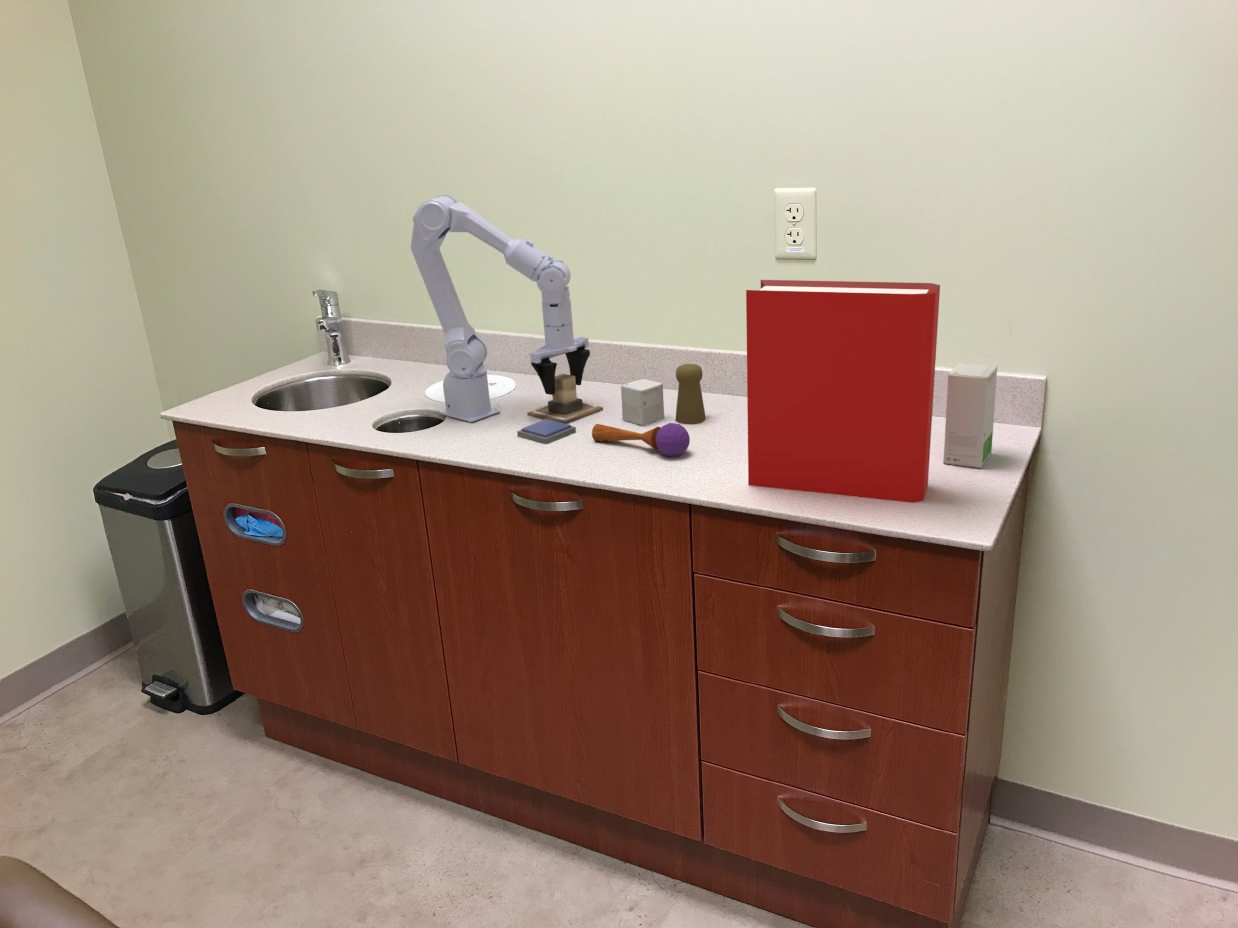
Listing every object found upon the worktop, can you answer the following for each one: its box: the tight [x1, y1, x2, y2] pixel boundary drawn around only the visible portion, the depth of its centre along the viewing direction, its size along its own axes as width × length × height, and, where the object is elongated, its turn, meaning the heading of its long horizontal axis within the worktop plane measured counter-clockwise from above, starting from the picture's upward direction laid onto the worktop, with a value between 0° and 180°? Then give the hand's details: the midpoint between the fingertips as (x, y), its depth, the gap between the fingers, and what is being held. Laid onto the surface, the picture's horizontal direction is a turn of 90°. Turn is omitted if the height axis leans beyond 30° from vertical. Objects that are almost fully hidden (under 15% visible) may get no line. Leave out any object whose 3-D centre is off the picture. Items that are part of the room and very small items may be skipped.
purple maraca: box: [591, 422, 691, 457], centre depth 176 cm, size 6×6×20 cm
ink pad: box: [516, 419, 577, 445], centre depth 186 cm, size 8×8×2 cm
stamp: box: [547, 373, 583, 415], centre depth 197 cm, size 5×5×7 cm
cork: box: [675, 363, 707, 425], centre depth 188 cm, size 6×6×11 cm
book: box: [745, 279, 941, 504], centre depth 149 cm, size 27×8×32 cm, turn 66°
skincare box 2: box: [942, 362, 998, 469], centre depth 159 cm, size 8×7×16 cm
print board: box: [526, 401, 604, 424], centre depth 198 cm, size 11×11×1 cm
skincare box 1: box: [620, 378, 665, 426], centre depth 190 cm, size 6×6×7 cm
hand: (563, 389), depth 197 cm, fingers open, 7 cm apart
